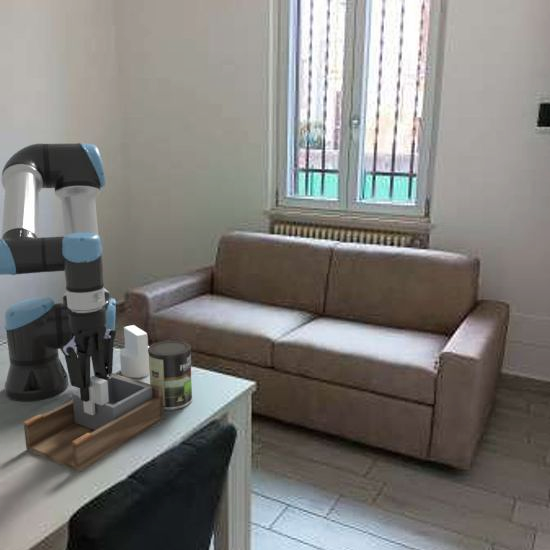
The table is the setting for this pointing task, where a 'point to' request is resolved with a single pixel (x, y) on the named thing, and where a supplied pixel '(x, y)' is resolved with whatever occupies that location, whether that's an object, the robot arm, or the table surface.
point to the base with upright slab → (135, 353)
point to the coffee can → (171, 372)
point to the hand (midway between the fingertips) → (94, 410)
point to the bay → (88, 432)
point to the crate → (110, 400)
